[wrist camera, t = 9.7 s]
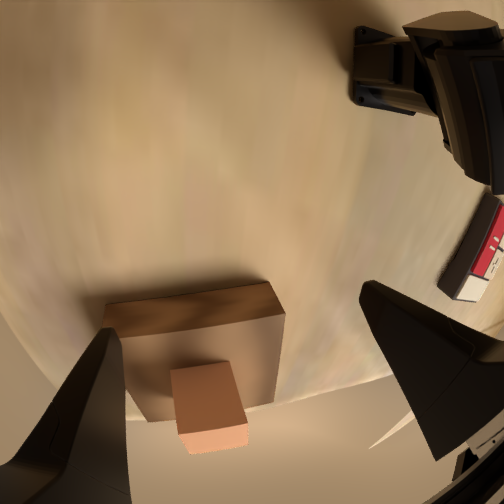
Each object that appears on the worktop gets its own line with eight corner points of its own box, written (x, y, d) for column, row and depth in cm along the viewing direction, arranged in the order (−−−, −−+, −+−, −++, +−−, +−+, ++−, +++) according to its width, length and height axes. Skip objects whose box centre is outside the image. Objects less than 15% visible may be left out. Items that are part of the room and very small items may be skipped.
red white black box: (519, 223, 29) (479, 305, 34) (500, 211, 33) (462, 291, 38) (504, 201, 25) (455, 303, 30) (480, 189, 28) (435, 286, 34)
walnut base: (269, 281, 25) (285, 313, 21) (263, 374, 32) (273, 402, 29) (105, 304, 21) (100, 339, 18) (146, 392, 29) (148, 422, 25)
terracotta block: (229, 360, 23) (248, 423, 18) (232, 390, 25) (248, 444, 20) (170, 369, 21) (178, 434, 17) (180, 398, 24) (190, 454, 19)
